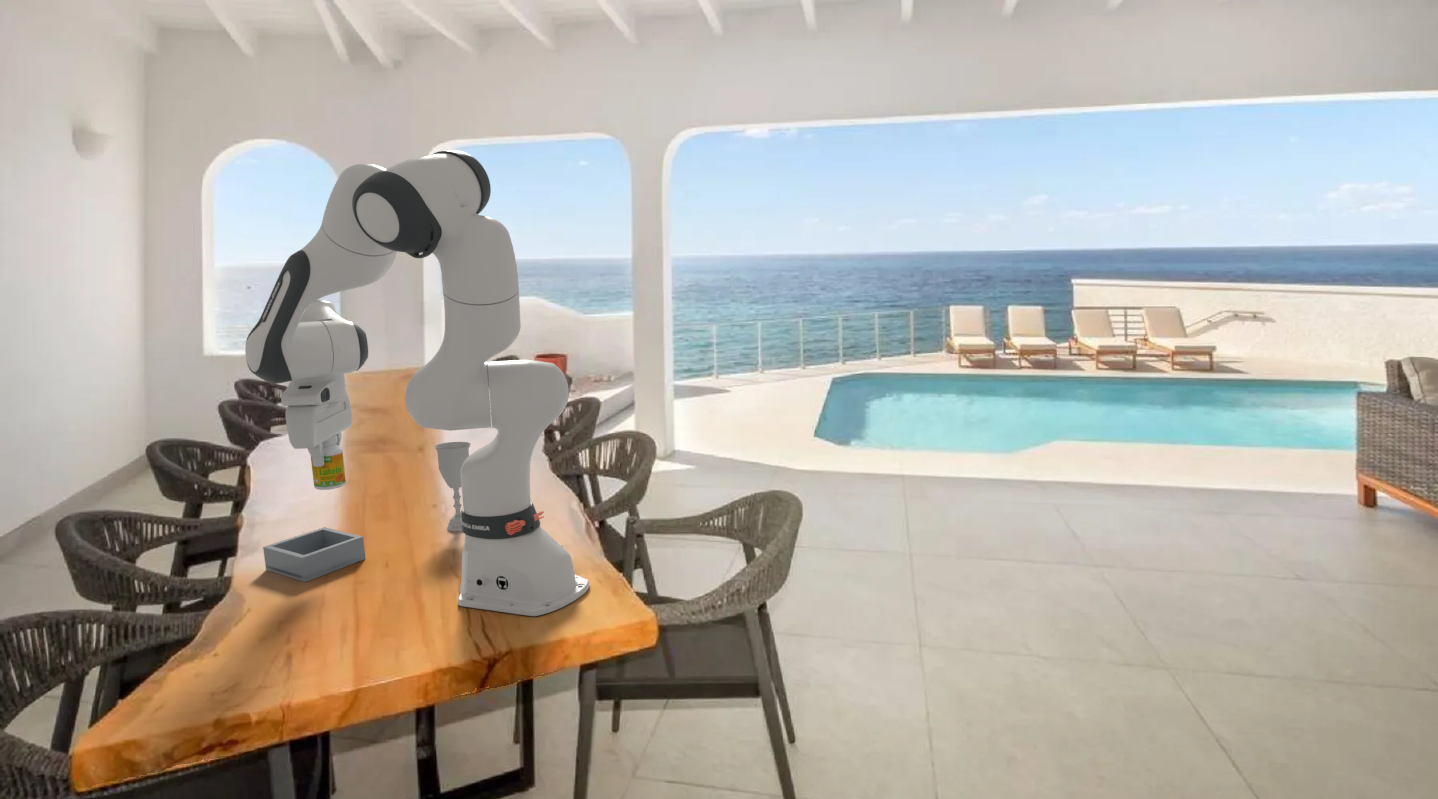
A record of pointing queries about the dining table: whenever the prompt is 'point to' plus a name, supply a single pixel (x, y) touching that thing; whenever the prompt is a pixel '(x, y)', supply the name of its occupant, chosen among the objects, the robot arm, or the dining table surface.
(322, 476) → the supplement bottle
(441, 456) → the chalice
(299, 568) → the tray
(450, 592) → the dining table surface
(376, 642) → the dining table surface
